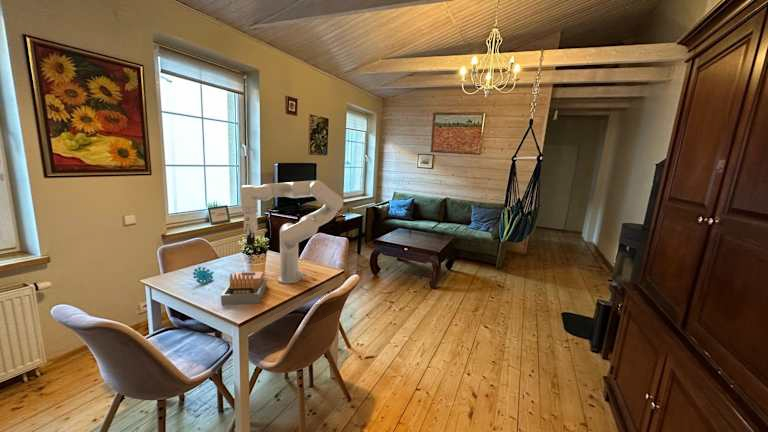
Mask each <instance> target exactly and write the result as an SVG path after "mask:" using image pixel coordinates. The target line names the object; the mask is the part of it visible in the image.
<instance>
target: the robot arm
mask: <svg viewBox="0 0 768 432" xmlns="http://www.w3.org/2000/svg"><path fill="white" fill-rule="evenodd" d="M279 197H280V198H283V197H284V198H285V197H286V198H290V199H299V198H311V197H314V198H315V199H316V200H317V201H318V202H320V203H321V204H323V206H322V207H321V208H319V209H317V210H315V211H313V212H310V213H309V214H306V215H304V216H302V217H300V219H299V221H298V222H297V223H292V222H287V223H284V224H283V225H282V226H281V227H280V229H279V259H280V260H279V261H280V263H279V266H280V267H279V269H280V271H279V273H280V275H279V276H278V277H277V282H278V283H281V284H286V285H289V284H295V283H298V282H300V281H301V280H302V277H303V278H305V277H306V278H307V277H308V273H307V272H305V271H302V272H301V271H300V269H299V243H301V242H303V241H304V240H306V239H309V238H311V237H313V236H314V235H315V234H316V233H317V232H318V231H319V227H321V226H323V225H325V224H327V223H329V222H330V221H332V220H333V219H334V218H335V216H336V215H337V213H338V211H340V210H341V209H342V208H343V206H344V200H343V198H342V197H341V196H340V195H339V194H337V193H336V192H335V191H333V190H332V189H331V188H329V187H328V186H327V185H326V184H325V183H323V182H322V181H321V180H319V179H318V180H303V181H290V182H278V183H276V182H274V183H265V184H262V185H260V186H258V185H257V186H256V185H253V184H252V185H251V184H245V185H241V187H240V198H241V199H240V200H241V201H240V202H241V203H240V204H241V205H240V206H241V213H242V214H243V232H244V233H245V234H246V238H245V240H246V246H254V244H255V243H256V239H255V232H256V231H257V230H258V218H257V217H258V215H257V214H258V213H259V212H258V210H259V209H258V208H259V207H258V205H259V204H258V201H265V202H266V201H270V200H271V199H272V198H279Z"/></svg>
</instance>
